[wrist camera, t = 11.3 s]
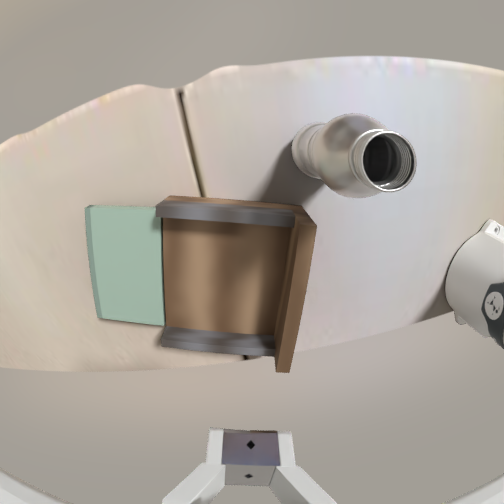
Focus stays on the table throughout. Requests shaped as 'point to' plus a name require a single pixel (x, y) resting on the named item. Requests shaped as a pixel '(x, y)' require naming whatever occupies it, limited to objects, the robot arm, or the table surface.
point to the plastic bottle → (355, 155)
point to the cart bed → (235, 275)
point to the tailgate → (126, 263)
